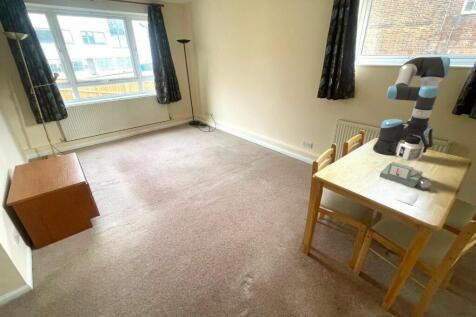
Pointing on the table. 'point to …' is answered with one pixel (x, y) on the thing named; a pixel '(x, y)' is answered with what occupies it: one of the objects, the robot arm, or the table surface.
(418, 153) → the container
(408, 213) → the table surface
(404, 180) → the scale
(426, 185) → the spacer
